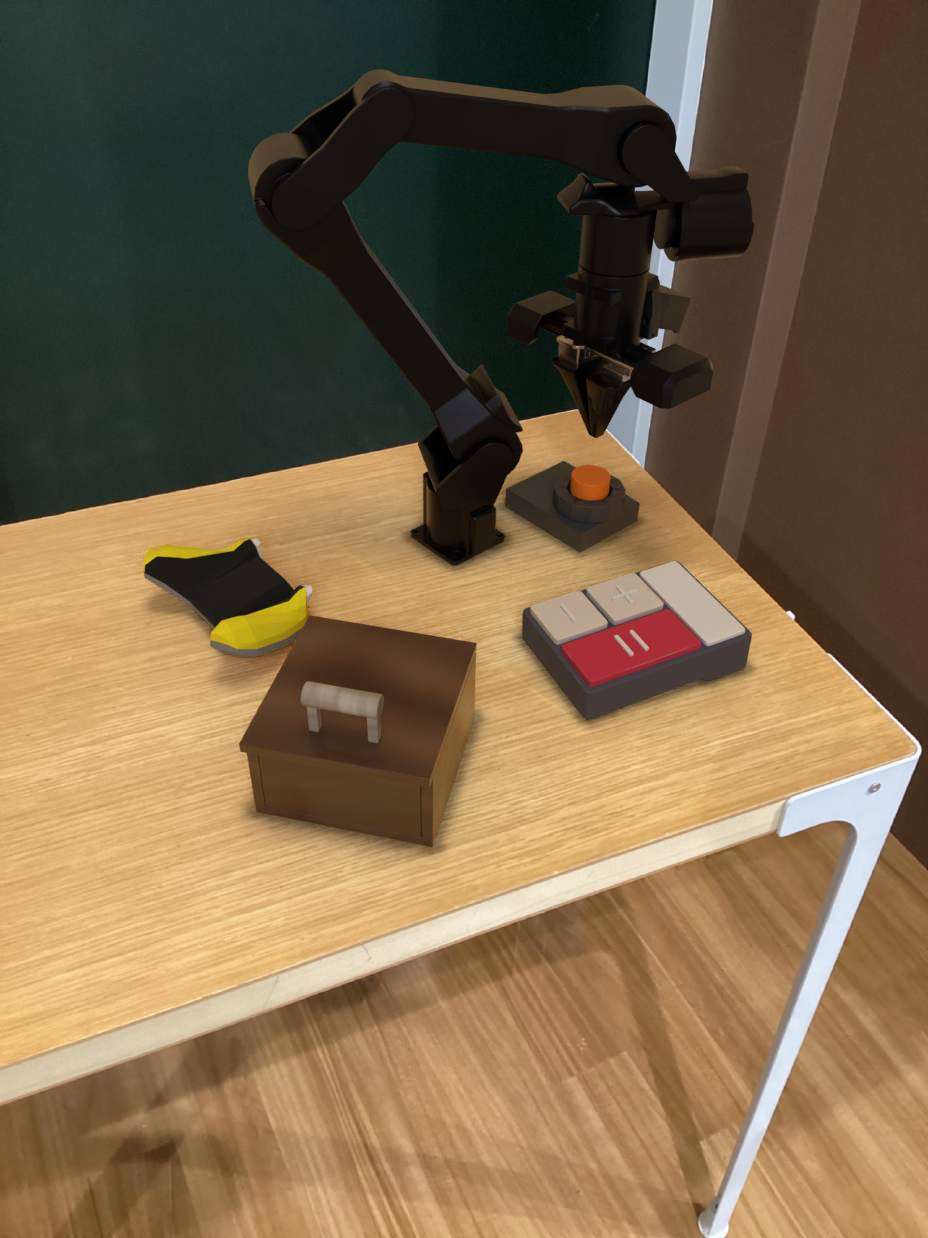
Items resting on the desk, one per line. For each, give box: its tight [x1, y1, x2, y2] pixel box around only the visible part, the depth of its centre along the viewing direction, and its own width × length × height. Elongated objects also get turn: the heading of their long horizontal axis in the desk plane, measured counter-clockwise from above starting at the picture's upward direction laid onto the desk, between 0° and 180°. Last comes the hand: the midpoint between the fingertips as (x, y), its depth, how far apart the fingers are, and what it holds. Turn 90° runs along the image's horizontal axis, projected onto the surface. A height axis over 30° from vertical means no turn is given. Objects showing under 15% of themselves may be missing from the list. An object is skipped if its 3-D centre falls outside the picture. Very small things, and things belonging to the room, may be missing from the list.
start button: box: [570, 464, 611, 501], centre depth 99 cm, size 4×4×2 cm
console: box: [504, 460, 641, 553], centre depth 101 cm, size 10×8×4 cm
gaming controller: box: [142, 537, 313, 659], centre depth 88 cm, size 15×6×10 cm
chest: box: [246, 653, 477, 848], centre depth 75 cm, size 13×13×7 cm
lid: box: [238, 614, 478, 788], centre depth 71 cm, size 13×13×5 cm
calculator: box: [521, 560, 753, 720], centre depth 86 cm, size 11×4×15 cm
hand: (596, 435), depth 95 cm, fingers closed
